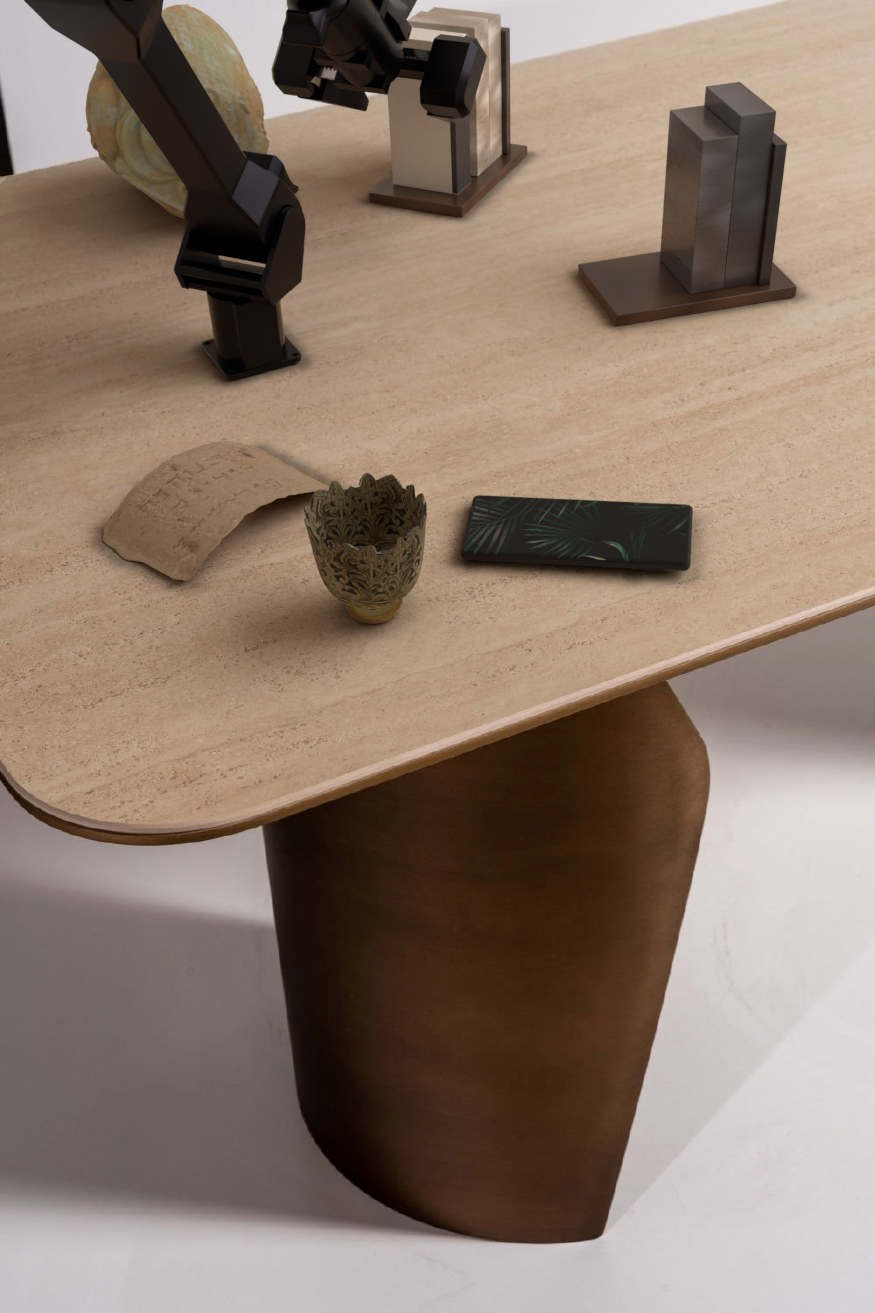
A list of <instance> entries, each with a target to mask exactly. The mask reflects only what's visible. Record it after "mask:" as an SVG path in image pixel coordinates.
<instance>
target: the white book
mask: <svg viewBox="0 0 875 1313" xmlns="http://www.w3.org/2000/svg"><path fill="white" fill-rule="evenodd" d="M440 34H444V35H453V36H462V37H467V35H466V34H464V33H455V32H447V31H438V30H430V29H421V28H413V27H412V30H411V34H410V37H409V41H408V42H406V41H403V43H402V47H405V48H414V49H422V50H431V47H432V44H433V40H434V38H436V37H437V36H438V35H440ZM416 60H417V59H416ZM421 81H422V80H415V79H408V78H400V77H397V78H396V79H395V80H394V81H393V82H391V84H390V88H389V91H388V95H387V109H388V122H389V123H388V124H389V125H388V126H389V141H390V157H391V159H390V160H391V173H392V175H393V184H394V185H400V186H406V187H412V188H418V189H425V190H431V191H437V192H443V193H449V194H455V195H457V194H459V193H460V192H461V191H462V190H463V189H464V188H465V187H466V186H468V185H469V184H470V183H471V168H470V129H469V115H467V116H466V117H464V118H463V119H462V118H458V119H457V122H456V124H453V123H449V122H445V121H442V120H439V119H436V118H433V117H430V116H427V115H426V114H427V111H426V110H424V108H423V107H422V105H421V104H420V85H421Z"/></svg>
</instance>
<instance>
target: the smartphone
mask: <svg viewBox="0 0 875 1313" xmlns="http://www.w3.org/2000/svg"><path fill="white" fill-rule="evenodd" d="M693 509H694V508H693V506H691V505H690V504H683V503H664V502H663V503H661V502H660V503H659V502H639V501H615V500H598V499H597V500H595V499H594V500H593V499H575V498H574V499H571V498H552V497H551V498H549V497H529V496H528V497H527V496H507V495H506V496H505V495H504V496H503V495H483V494H480V495H475V496H473V498H472V501H471V505H470V510H469V514H468V518H467V520H466V525H465V530H464V534H463V538H462V542H461V546H460V550H459V555H460V558H461V559H463V560H465V561H480V562H482V561H483V562H498V563H499V562H500V563H517V564H519V563H520V564H539V565H556V566H557V565H559V566H577V567H578V566H579V567H596V568H597V567H598V568H614V569H633V571H644V572H646V571H647V572H663V573H665V572H666V571H674V572H686V571H688V570H689V569H690V568H691V561H692V560H691V559H692V540H693V539H692V537H693V516H694V513H693V512H694V510H693Z"/></svg>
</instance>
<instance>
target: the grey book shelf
mask: <svg viewBox="0 0 875 1313" xmlns="http://www.w3.org/2000/svg"><path fill="white" fill-rule="evenodd" d="M776 117H777V110H776V109H774V108H773V107H772V106H771V105H769V104H768V103H767V102H766V101H765V100H763V98H761V97H759V95H757V94H755V93H754V91H752V90H751V89H750V88H748V87H747V86H746V85H744V84H743V83H742V82H741V81H735V82H729V83H721V84H714V85H708V86H705V91H704V102H703V104H702V105H697V106H688V107H681V108H674V109H669V118H668V134H667V147H666V150H667V151H666V162H665V176H664V178H665V179H664V190H663V191H664V192H663V208H662V222H661V234H660V236H661V238H660V250H659V251H653V252H648V253H643V254H642V253H641V254H635V255H628V256H622V257H621V256H620V257H615V258H610V259H609V258H608V259H603V260H597V261H596V260H595V261H590V262H584V263H578V265H577V275H578V277H579V278H580V280H581V281H582V282H583V283H584V285H585V286H586V287H587V289H588V290H589V292H591V294H592V295H593V297H594V298H595V299H596V301H597V302H598V303H599V304H600V306H601V307H602V308H603V310H604V311H605V312H606V314H607V315H608V316H609V318H610V319H611V320H612V322H613V323H614V324H615V326H617V327H620V326H626V325H632V324H638V323H644V322H651V321H656V320H662V319H668V318H674V317H680V316H687V315H693V314H698V313H699V314H700V313H704V312H710V311H717V310H723V309H729V308H735V307H736V308H737V307H741V306H747V305H753V304H759V303H766V302H771V301H777V300H783V299H790V298H795V297H796V294H797V288H798V286H797V285H796V284H795V282H794V281H793V280H791V278H790V277H789V276H788V275H786V274H785V272H783V270H782V269H781V268H779V267H778V266H777V265H776V264H775V263H774V254H775V246H776V239H777V238H776V237H777V232H778V231H777V230H778V222H779V214H780V205H781V198H782V190H783V182H784V181H783V180H784V173H785V165H786V156H787V148H788V142H786V141H785V140H784V139H782V137H780V136H779V135H778V134H777V133H775V126H776Z"/></svg>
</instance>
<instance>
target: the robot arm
mask: <svg viewBox="0 0 875 1313" xmlns="http://www.w3.org/2000/svg"><path fill="white" fill-rule="evenodd" d="M23 1H24V2H25V3H26V5H27V6H29V7H30V8H31V9H32V11H34V12H35V13H36V14H37V16H39V17H40V19H42V20H43V22H45V23H46V25H47V26H49V27H50V28H51V29H52V30H54V31H55V32H57V33H58V34H61V35H62V36H64V37H65V38H67V39H69V40H70V41H72V42H74V43H75V44H77V45H78V46H80V47H82V48H83V49H85V50H87V51H88V52H89V53H92V54H93V55H94V56H95V57H96V58H97V59H98V60H100V62H101V63H102V65H103V66H104V68H105V69H106V71H107V72H108V74H109V75H110V77H111V78H112V79H113V81H114V82H115V84H116V85H117V87H118V88H119V90H120V91H121V93H122V94H123V96H124V97H125V99H126V100H127V101H128V103H129V104H130V106H131V107H132V109H133V110H134V112H135V113H136V115H137V116H138V118H139V119H140V121H141V122H142V123H143V125H144V126H145V128H146V129H147V131H148V132H149V134H150V135H151V137H152V138H153V140H154V141H155V143H156V144H157V146H158V147H159V148H160V150H161V151H162V153H163V154H164V156H165V157H166V159H167V160H168V162H169V163H170V165H171V166H172V168H173V169H174V170H175V172H176V173H177V175H178V176H179V178H180V179H181V181H182V182H183V184H184V185H185V187H186V189H187V193H186V198H185V203H184V209H183V215H184V217H185V219H184V220H185V221H186V225H185V229H184V233H183V236H182V240H181V242H180V246H179V249H178V253H177V256H176V260H175V263H174V266H173V272H174V274H175V277H176V279H177V281H178V283H179V285H180V287H181V289H185V290H189V289H190V290H196V291H201V292H205V293H206V299H207V305H208V312H209V317H210V324H211V330H212V335H213V338H211V339H207V340H204V341H202V342H201V347H202V350H203V351H204V353H205V354H206V355H207V357H208V358H209V359H210V360H211V361H212V363H213V364H214V365H215V367H216V368H217V369H218V371H219V372H220V373H221V374H222V376H223V377H224V378H225V379H226V380H228V381H232V380H237V379H241V378H244V377H249V376H252V375H256V374H258V373H263V372H266V371H270V370H274V369H278V368H280V367H285V366H288V365H291V364H296V363H298V362H300V361H302V353H301V352H300V350H298V349H297V347H296V346H295V344H293V343H292V341H290V340H289V338H288V337H287V335H285V328H284V327H285V326H284V320H283V311H282V303H281V300H282V299H283V298H284V297H285V296H287V295H288V294H289V293H290V292H291V291H292V290H294V289H295V288H296V287H297V286H298V285H299V284H300V283H302V280H303V270H304V269H303V268H304V255H305V254H304V253H305V241H306V218H305V214H304V212H303V208H302V205H301V203H300V200H299V198H298V196H297V193H298V192H299V190H300V187H299V186H298V185H296V184H294V182H293V181H292V180H291V179H290V177H289V175H288V172H287V169H286V167H285V166H286V165H285V164H284V163H283V161H282V160H281V159H280V158H279V157H278V156H277V155H275V154H268V153H267V154H263V153H256V152H250V151H243V150H241V149H240V147H239V145H238V144H237V142H236V140H235V139H234V137H233V135H232V134H231V132H230V130H229V129H228V127H227V125H226V124H225V122H224V120H223V119H222V117H221V115H220V114H219V112H218V110H217V109H216V107H215V105H214V104H213V102H212V100H211V99H210V97H209V95H208V94H207V92H206V90H205V89H204V87H203V85H202V84H201V82H200V80H199V79H198V77H197V75H196V74H195V72H194V70H193V69H192V67H191V65H190V64H189V62H188V60H187V59H186V57H185V55H184V54H183V52H182V50H181V49H180V47H179V45H178V44H177V42H176V40H175V39H174V37H173V35H172V34H171V32H170V30H169V29H168V27H167V25H166V24H165V22H164V20H163V18H162V10H163V6H164V0H23ZM417 1H418V0H286V7H287V9H286V11H285V19H284V20H283V21H284V22H283V25H282V28H281V29H282V30H281V35H280V39H279V43H278V46H277V49H276V52H275V56H274V59H273V62H272V66H271V78H272V81H273V83H274V85H275V86H276V88H278V90H280V91H281V93H282V94H283V95H286V96H294V97H297V98H299V99H302V100H308V101H312V102H318V103H323V104H327V105H333V106H337V107H341V108H342V107H343V108H347V109H351V110H357V111H360V112H367V111H368V107H369V105H370V104H369V103H370V100H369V97H368V95H367V93H368V94H369V93H370V94H378V95H386V96H388V91H389V88H390V84H391V82H393V81H394V80H395V79H396V78H397V77H400V78H408V79H415V80H422V81H421V85H420V104H421V105H422V107H423V108H424V110H426V111H427V114H426V115H427V116H430V117H433V118H436V119H439V120H442V121H445V122H449V123H453V124H456V122H457V119H458V118H462V119H463V118H464V117H466V116H467V115H469V114H470V113H471V110H472V106H473V103H474V99H475V96H476V93H477V89H478V86H479V82H480V79H481V75H482V72H483V68H484V65H485V62H486V58H487V55H486V54H485V52H484V50H483V49H482V47H481V45H480V43H479V42H478V40H477V38H471V37H462V36H453V35H444V34H440V35H438V36H437V37H436V38H434V40H433V44H432V47H431V50H422V49H414V48H405V47H402V43H403V41H406V42H408V41H409V37H410V34H411V30H412V27H411V26H410V24H409V23H408V21H407V20H408V19H409V17H410V15H411V13H412V11H413V9H414V8H415V6H416V3H417ZM416 59H417V60H416ZM220 257H225V258H230V259H234V260H241V261H246V262H252V263H255V264H256V263H257V264H263V265H264V266H260V265H255V264H251V263H250V264H249V263H245V262H239V261H233V260H230V259H229V260H228V259H223V258H220Z"/></svg>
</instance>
